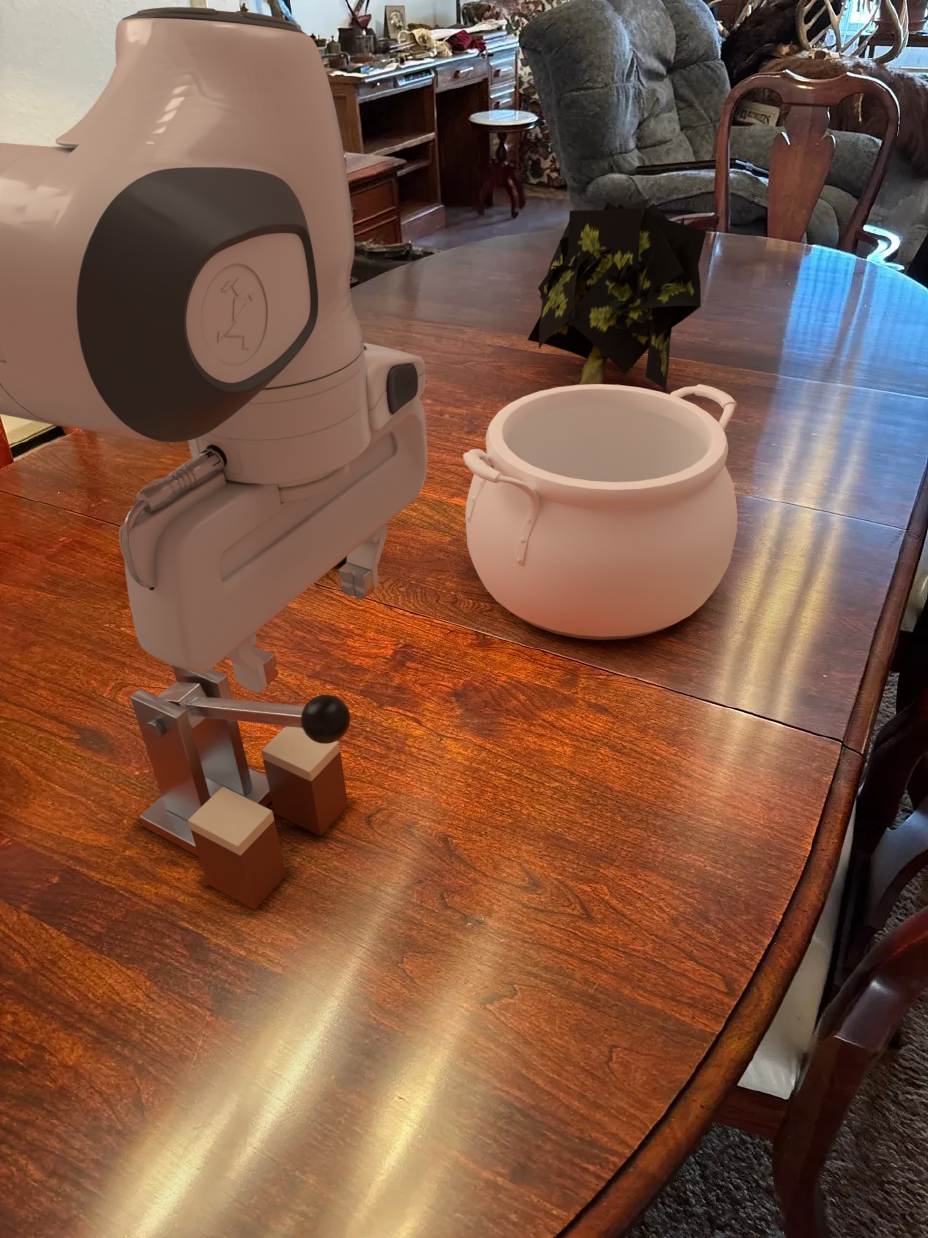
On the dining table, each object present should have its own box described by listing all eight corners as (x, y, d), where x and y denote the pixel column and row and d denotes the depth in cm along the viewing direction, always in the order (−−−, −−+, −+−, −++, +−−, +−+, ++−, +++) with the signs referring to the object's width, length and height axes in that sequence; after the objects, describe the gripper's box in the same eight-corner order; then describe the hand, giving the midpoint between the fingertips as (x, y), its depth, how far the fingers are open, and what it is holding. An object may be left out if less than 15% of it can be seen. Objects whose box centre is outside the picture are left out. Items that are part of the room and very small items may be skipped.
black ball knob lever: (366, 725, 57) (348, 686, 56) (337, 756, 55) (318, 716, 54) (195, 708, 67) (177, 674, 66) (166, 733, 65) (146, 699, 64)
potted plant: (654, 442, 123) (746, 212, 115) (496, 384, 123) (577, 152, 115) (640, 437, 143) (717, 241, 136) (505, 387, 144) (574, 190, 136)
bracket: (280, 791, 73) (255, 669, 65) (210, 863, 67) (174, 739, 60) (214, 760, 76) (182, 638, 68) (142, 826, 70) (98, 703, 63)
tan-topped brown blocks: (254, 911, 64) (238, 846, 60) (206, 884, 66) (187, 820, 62) (348, 805, 72) (339, 741, 67) (302, 784, 73) (291, 720, 69)
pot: (552, 701, 81) (561, 534, 70) (410, 559, 99) (400, 410, 88) (790, 597, 92) (828, 440, 82) (623, 487, 110) (637, 347, 100)
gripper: (168, 527, 36) (231, 772, 44) (442, 349, 50) (450, 562, 58) (58, 489, 38) (137, 727, 47) (348, 330, 52) (368, 536, 61)
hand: (312, 634), depth 53 cm, fingers open, 8 cm apart
